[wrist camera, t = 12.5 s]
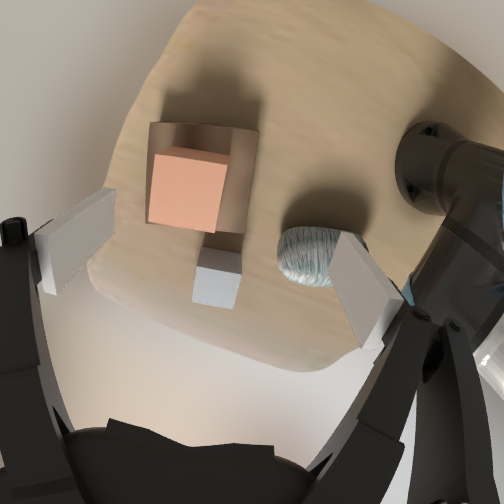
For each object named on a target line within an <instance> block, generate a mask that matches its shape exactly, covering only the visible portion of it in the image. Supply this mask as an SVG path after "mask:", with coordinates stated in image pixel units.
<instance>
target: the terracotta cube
mask: <svg viewBox="0 0 504 504" xmlns="http://www.w3.org/2000/svg"><path fill="white" fill-rule="evenodd" d="M229 157H230V155H225V154H219V153H213V152H208V151H201V150H195V149H188V148H182V147H174V146H171V147H169V148H167V149H165V150H163V151H161V152H159V153H157V154H155V160H154V168H153V176H152V185H151V194H150V205H149V217H148V222H153V223H159V224H165V225H171V226H176V227H182V228H188V229H194V230H200V231H205V232H211V233H215V229H216V223H217V218H218V213H219V208H220V203H221V197H222V192H223V187H224V182H225V177H226V172H227V167H228V162H229Z"/></svg>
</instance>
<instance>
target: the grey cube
mask: <svg viewBox="0 0 504 504" xmlns="http://www.w3.org/2000/svg"><path fill="white" fill-rule="evenodd" d="M241 276H242V263H241V254H240V253H234V252H229V251H224V250H219V249H214V248H208V247H203V246H202V248H201V252H200V256H199V260H198V264H197V269H196V276H195V282H194V288H193V295H192V302H195V303H200V304H205V305H211V306H217V307H222V308H228V309H233V307H234V303H235V299H236V295H237V291H238V287H239V283H240V280H241Z"/></svg>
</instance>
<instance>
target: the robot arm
mask: <svg viewBox="0 0 504 504" xmlns="http://www.w3.org/2000/svg"><path fill="white" fill-rule="evenodd" d="M395 175H396V181H397V185H398V188H399V190H400V192H401V194H402V196H403V197H404V199H405V200H406V201H407V202H408V203H409V204H410V205H411V206H413V207H414V208H416V209H417V210H419V211H421V212H423V213H426V214H430V215H439V216H446V217H445V219H444V221H443V223H442V224H441V226H440V228H439V230H438V231H437V233H436V235H435V237H434V239H433V240H432V242H431V244H430V245H429V247H428V249H427V251H426V252H425V254H424V255H423V257H422V259H421V260H420V262H419V264H418V265H417V267H416V268H415V270H414V271H413V272H412V273H411V274H410V275H409V277H408V280H407V282H406V284H405V286H404V287H403V289H402V291H401V292H400V290H399V289H398V288H397V286H396V285H395V284H394V282H393V281H392V280H390V279H389V278H388V277H387V276H386V275H385V273H384V272H383V271H382V270H381V268H380V267H379V266H378V264H377V263H376V262H375V261H374V259H373V258H372V257H371V256H370V254H369V253H368V252H367V250H366V249H365V248H364V247H363V246H362V244H361V243H360V242H359V241H358V239H357V238H356V237H355V236H354V235H353V234H351V233H347V232H343V231H341V234H340V237H339V240H338V243H337V245H336V248H335V251H334V254H333V256H332V259H331V262H330V265H329V267H328V270H327V273H328V276H329V278H330V280H331V282H332V284H333V286H334V288H335V291H336V293H337V295H338V297H339V299H340V302H341V304H342V306H343V308H344V311H345V313H346V315H347V317H348V320H349V322H350V324H351V327H352V329H353V331H354V334H355V336H356V338H357V341H358V343H359V345H360V348H361V349H365V350H375V349H376V348H377V346H378V345H379V343H380V342H381V340H382V341H383V343H384V345H385V346H384V348H383V350H382V351H381V352H380V354H379V355H378V357H377V358H376V360H375V361H374V363H373V364H374V366H373V368H372V370H371V372H370V374H369V376H368V378H367V379H366V381H365V383H364V385H363V386H362V388H361V390H360V392H359V393H358V395H357V397H356V398H355V400H354V402H353V403H352V405H351V407H350V408H349V410H348V411H347V413H346V415H345V416H344V418H343V419H342V421H341V422H340V424H339V425H338V427H337V428H336V430H335V431H334V433H333V434H332V436H331V437H330V438H329V440H328V441H327V443H326V444H325V446H324V447H323V448H322V450H321V451H320V452H319V454H318V455H317V456H316V458H315V459H314V460H313V461H312V463H311V464H310V465H309V466H308V467H307V468H306V469H304V468H303V467H301V466H300V465H297V464H296V463H294V462H291V461H290V460H287V459H285V458H282V457H279V456H275V455H274V446H271V445H251V444H237V443H231V444H222V445H213V446H212V445H211V446H199V447H189V446H185V445H182V444H180V443H177V442H175V441H173V440H171V439H168V438H166V437H164V436H162V435H160V434H157V433H155V432H153V431H151V430H149V429H146V428H142V427H138V426H134V425H131V424H127V423H124V422H120V421H117V420H114V419H111V418H109V421H108V423H107V427H106V428H105V427H92V428H84V429H80V430H76V431H75V429H74V427H73V425H72V423H71V421H70V419H69V416H68V414H67V411H66V408H65V405H64V402H63V399H62V396H61V393H60V390H59V387H58V384H57V380H56V377H55V373H54V370H53V366H52V362H51V358H50V354H49V350H48V345H47V341H46V336H45V331H44V325H43V320H42V314H41V307H40V300H39V293H38V288H37V284H38V283H39V282H40V281H41V280H42V284H43V288H44V292H47V293H50V294H53V295H56V296H57V295H58V294H59V293H60V292H61V291H62V289H63V288H64V287H65V286H66V284H68V282H69V281H70V280H71V279H72V278H73V277H74V275H75V274H76V273H77V272H78V271H79V270H80V269H81V268H82V267H83V266H84V264H85V263H86V262H87V261H88V260H89V259H90V258H91V257H92V256H93V255H94V254H95V253H96V252H97V250H98V249H99V248H100V247H101V246H102V245H103V244H104V243H105V242H106V241H107V240H108V239H109V238H110V237H111V236H112V235H113V234H114V229H115V194H116V189H112V188H105V187H104V188H103V189H101V190H99V191H98V192H96V193H94V194H93V195H91V196H89V197H88V198H86V199H84V200H83V201H81V202H79V203H78V204H76V205H75V206H73V207H72V208H70V209H68V210H67V211H65V212H64V213H62V214H61V215H59V216H58V217H56V218H55V219H52V220H50V221H48V222H47V223H46V224H44V225H43V226H41V227H40V228H39V229H37V230H36V231H35V232H33V233H32V234H30V235H29V236H28V231H27V223H26V219H25V218H23V217H13V218H9V219H7V220H5V221H3V222H2V223H1V224H0V235H1V240H2V246H0V451H1V455H2V458H3V462H4V465H5V467H3V468H1V469H0V504H380V503H381V501H382V499H383V497H384V495H385V493H386V491H387V489H388V487H389V485H390V483H391V481H392V479H393V476H394V474H395V471H396V470H397V467H398V465H399V462H400V460H401V458H402V455H403V452H404V448H405V446H404V443H402V442H400V441H399V439H400V436H401V434H402V431H403V429H404V426H405V423H406V420H407V418H408V415H409V412H410V409H411V405H412V403H413V399H414V396H415V393H416V389H417V408H416V432H415V446H414V456H413V466H412V473H411V481H410V487H409V492H408V499H407V504H500V501H499V497H498V492H497V488H496V484H495V480H494V477H493V461H492V448H491V439H490V431H489V424H488V417H487V412H486V406H485V401H484V396H483V391H482V387H481V383H480V378H479V374H478V372H479V373H480V374H481V375H482V376H483V377H484V378H485V379H486V381H487V382H488V383H489V384H490V385H491V386H492V387H493V389H494V390H495V391H496V392H497V393H498V394H499V395H500V397H501V398H502V399H503V400H504V150H501V149H498V148H494V147H491V146H487V145H484V144H480V143H476V142H472V141H469V140H468V139H466V138H465V137H464V136H462V135H461V134H460V133H458V132H457V131H456V130H454V129H453V128H452V127H450V126H448V125H446V124H443V123H438V122H432V121H426V122H422V123H419V124H417V125H415V126H414V127H412V128H411V129H410V130H409V131H408V132H407V133H406V134H405V136H404V137H403V139H402V141H401V143H400V145H399V148H398V151H397V155H396V160H395ZM446 228H447V229H446ZM449 230H450V231H449ZM453 233H454V234H453ZM457 236H458V237H457ZM461 239H462V240H461ZM465 242H466V243H465ZM469 245H470V246H471V247H470V246H469ZM474 249H475V250H474ZM479 253H480V254H479ZM485 258H486V259H485Z"/></svg>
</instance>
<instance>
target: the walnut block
mask: <svg viewBox="0 0 504 504" xmlns="http://www.w3.org/2000/svg"><path fill="white" fill-rule="evenodd" d="M259 133H260V132H259V131H258V130H254V129H246V128H238V127H229V126H220V125H209V124H197V123H182V122H150V127H149V139H148V153H147V172H146V212H145V221H146V224H157V225H165V224H159V223H153V222H148V217H149V205H150V194H151V185H152V176H153V168H154V160H155V154H157V153H159V152H161V151H163V150H165V149H167V148H169V147H171V146H174V147H182V148H188V149H195V150H201V151H208V152H213V153H219V154H225V155H230V157H229V162H228V167H227V172H226V177H225V182H224V187H223V192H222V197H221V203H220V208H219V213H218V218H217V223H216V229H215V231H224V232H233V233H242V234H244V232H245V226H246V219H247V212H248V205H249V199H250V192H251V185H252V179H253V172H254V165H255V159H256V152H257V146H258V139H259ZM167 226H171V225H167Z"/></svg>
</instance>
